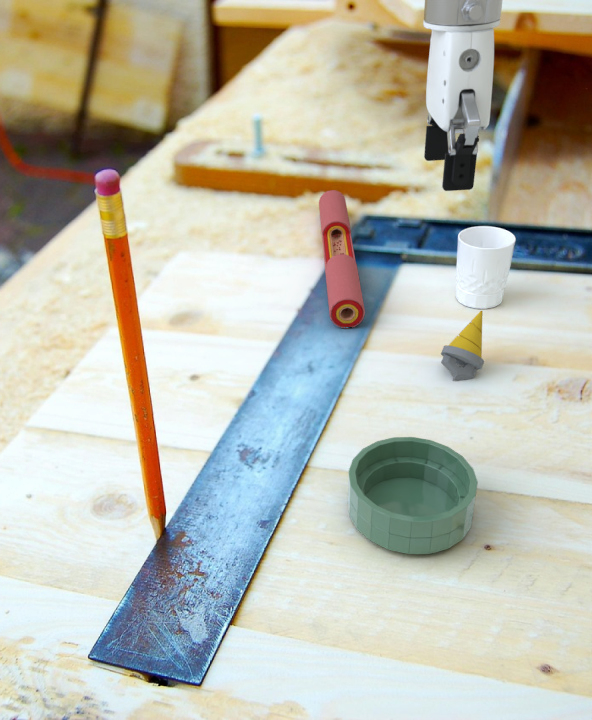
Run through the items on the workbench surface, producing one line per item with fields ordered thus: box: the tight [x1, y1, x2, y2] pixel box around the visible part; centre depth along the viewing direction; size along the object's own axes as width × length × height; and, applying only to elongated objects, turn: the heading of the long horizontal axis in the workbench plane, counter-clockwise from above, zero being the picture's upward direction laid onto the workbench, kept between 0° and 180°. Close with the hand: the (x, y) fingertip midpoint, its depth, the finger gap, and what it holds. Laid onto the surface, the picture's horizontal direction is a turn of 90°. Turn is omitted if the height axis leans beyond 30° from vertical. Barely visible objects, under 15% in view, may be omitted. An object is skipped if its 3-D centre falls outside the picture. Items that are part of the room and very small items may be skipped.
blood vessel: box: [318, 189, 366, 329], centre depth 126 cm, size 42×5×5 cm, turn 177°
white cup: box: [455, 225, 517, 310], centre depth 112 cm, size 8×8×10 cm
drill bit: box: [440, 310, 485, 382], centre depth 98 cm, size 5×5×10 cm
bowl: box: [347, 436, 478, 555], centre depth 78 cm, size 12×12×5 cm
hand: (447, 173), depth 86 cm, fingers open, 9 cm apart
